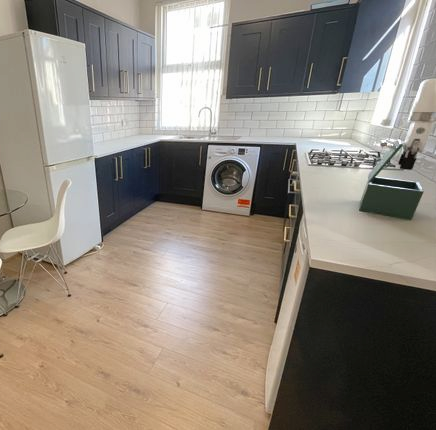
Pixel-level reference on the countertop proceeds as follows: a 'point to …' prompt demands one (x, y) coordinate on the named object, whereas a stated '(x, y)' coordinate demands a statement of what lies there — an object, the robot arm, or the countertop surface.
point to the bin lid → (384, 158)
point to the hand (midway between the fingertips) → (404, 167)
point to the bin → (391, 197)
